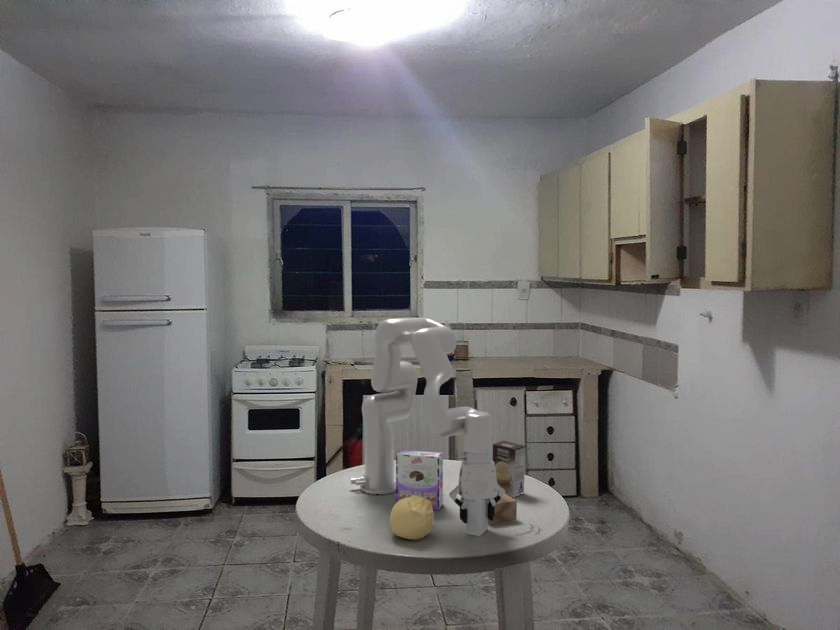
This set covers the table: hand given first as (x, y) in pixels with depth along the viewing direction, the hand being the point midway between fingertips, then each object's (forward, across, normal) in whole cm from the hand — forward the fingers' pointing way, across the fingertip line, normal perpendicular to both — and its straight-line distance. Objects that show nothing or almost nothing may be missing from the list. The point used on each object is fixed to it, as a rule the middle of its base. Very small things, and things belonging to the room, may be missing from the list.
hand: (477, 519), depth 180 cm
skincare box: (+4, 0, 0) cm, 4 cm away
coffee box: (+4, +21, +28) cm, 35 cm away
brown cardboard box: (+4, +9, +9) cm, 13 cm away
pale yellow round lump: (+4, -18, +2) cm, 18 cm away
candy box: (+4, -10, +24) cm, 26 cm away
